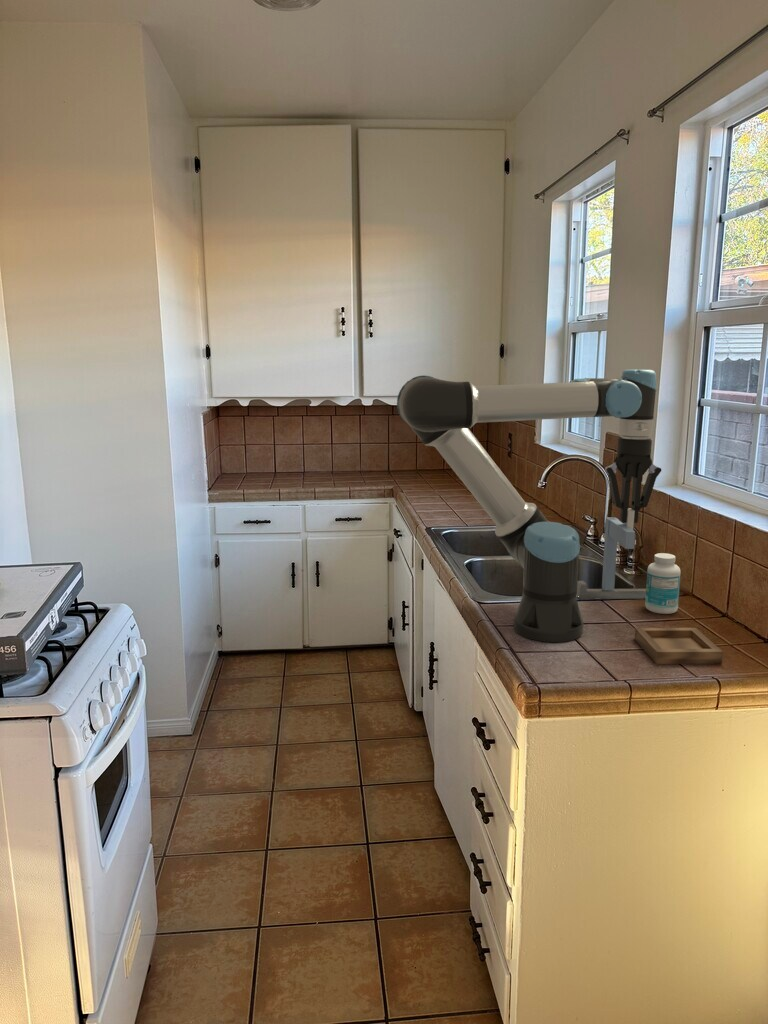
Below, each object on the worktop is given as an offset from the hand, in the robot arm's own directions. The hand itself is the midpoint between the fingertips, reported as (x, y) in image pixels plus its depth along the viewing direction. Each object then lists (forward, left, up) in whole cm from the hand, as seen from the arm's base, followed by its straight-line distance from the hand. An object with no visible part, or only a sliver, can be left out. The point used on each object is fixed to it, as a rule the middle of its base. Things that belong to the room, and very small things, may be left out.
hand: (627, 536), depth 174 cm
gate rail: (+3, +7, -18) cm, 19 cm away
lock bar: (-2, +1, -16) cm, 16 cm away
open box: (+3, -27, -18) cm, 32 cm away
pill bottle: (+9, -2, -18) cm, 20 cm away
